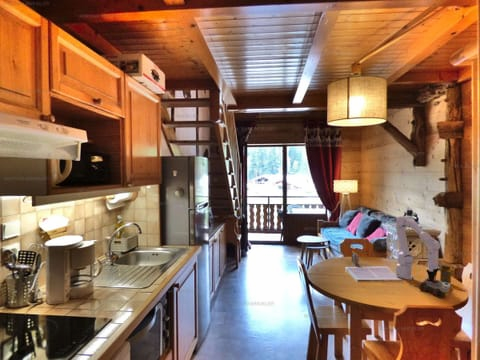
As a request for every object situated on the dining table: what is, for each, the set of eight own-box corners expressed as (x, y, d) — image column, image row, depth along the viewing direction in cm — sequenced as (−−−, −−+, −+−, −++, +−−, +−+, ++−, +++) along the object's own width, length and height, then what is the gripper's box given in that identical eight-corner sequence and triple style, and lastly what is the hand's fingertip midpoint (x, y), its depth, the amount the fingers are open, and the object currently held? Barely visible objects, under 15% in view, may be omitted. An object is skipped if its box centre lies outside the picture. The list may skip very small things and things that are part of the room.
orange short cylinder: (428, 283, 201) (428, 273, 201) (427, 281, 205) (428, 272, 205) (436, 284, 199) (436, 275, 199) (435, 282, 203) (435, 273, 203)
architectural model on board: (351, 261, 260) (351, 250, 260) (354, 261, 260) (354, 250, 260) (354, 265, 249) (354, 253, 249) (358, 265, 249) (358, 253, 248)
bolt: (443, 301, 184) (420, 291, 198) (448, 296, 185) (425, 287, 199) (440, 294, 182) (417, 284, 196) (445, 289, 184) (423, 280, 198)
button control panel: (422, 287, 201) (422, 281, 201) (425, 282, 211) (425, 276, 210) (447, 292, 192) (447, 286, 192) (450, 287, 201) (450, 281, 201)
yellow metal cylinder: (453, 283, 209) (453, 266, 208) (447, 286, 204) (448, 268, 204) (441, 280, 215) (442, 263, 214) (435, 282, 210) (436, 265, 210)
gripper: (438, 262, 193) (437, 284, 194) (441, 258, 204) (441, 278, 205) (425, 260, 198) (425, 281, 198) (429, 256, 209) (429, 275, 209)
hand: (432, 279), depth 202 cm, fingers open, 7 cm apart
